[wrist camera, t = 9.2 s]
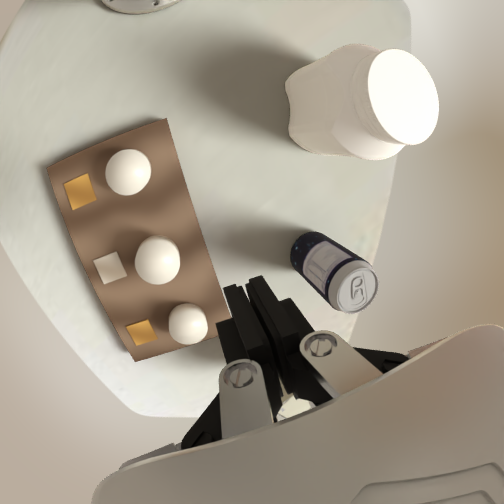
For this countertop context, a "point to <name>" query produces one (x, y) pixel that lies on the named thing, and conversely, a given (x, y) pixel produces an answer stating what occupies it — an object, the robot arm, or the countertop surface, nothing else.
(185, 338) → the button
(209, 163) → the countertop surface
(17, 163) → the countertop surface
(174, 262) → the button middle
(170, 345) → the button board
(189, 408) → the countertop surface
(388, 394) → the robot arm
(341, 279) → the beverage can
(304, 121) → the jar
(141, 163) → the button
